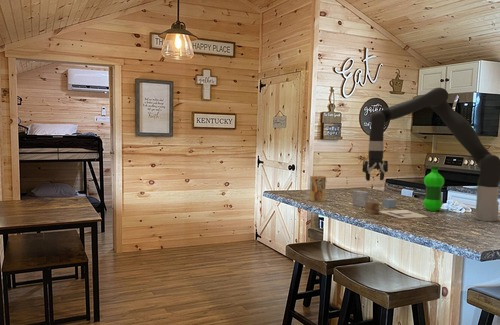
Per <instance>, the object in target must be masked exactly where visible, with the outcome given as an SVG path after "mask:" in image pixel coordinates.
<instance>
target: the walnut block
mask: <svg viewBox="0 0 500 325" xmlns="http://www.w3.org/2000/svg"><path fill="white" fill-rule="evenodd" d="M379 211H380V203H379V202H376V201H368V202H366V204H365V207H364V213H366V214H369V215H378V214H379V213H380V212H379Z"/></svg>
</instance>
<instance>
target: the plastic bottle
mask: <svg viewBox="0 0 500 325" xmlns="http://www.w3.org/2000/svg"><path fill="white" fill-rule="evenodd" d="M430 170H431V171H430V173H428V174H427V175H425V176H424V178H423V184H424V185H425V197H424V199H423V202H422V204H423V206H424V208H425V209H427V211H430V212H438V211H439V210H440V209H442V206H443V202H442V187H443V186H444V185H445V177H443V175H442V174H440V173H439V171H438V170H440V166H439V165H430Z"/></svg>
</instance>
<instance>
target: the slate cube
mask: <svg viewBox="0 0 500 325" xmlns="http://www.w3.org/2000/svg"><path fill="white" fill-rule="evenodd" d="M382 207H383V208H387V209H393V208H394V209H395V208H396V207H397V200H396V199H395V198H383V200H382Z"/></svg>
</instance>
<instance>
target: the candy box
mask: <svg viewBox="0 0 500 325" xmlns="http://www.w3.org/2000/svg"><path fill="white" fill-rule="evenodd" d="M326 177H327V176H325V175H310V177H309V180H310V181H309V201H311V202H319V201H321V202H323V201H325V200H326V180H327V179H326Z"/></svg>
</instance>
